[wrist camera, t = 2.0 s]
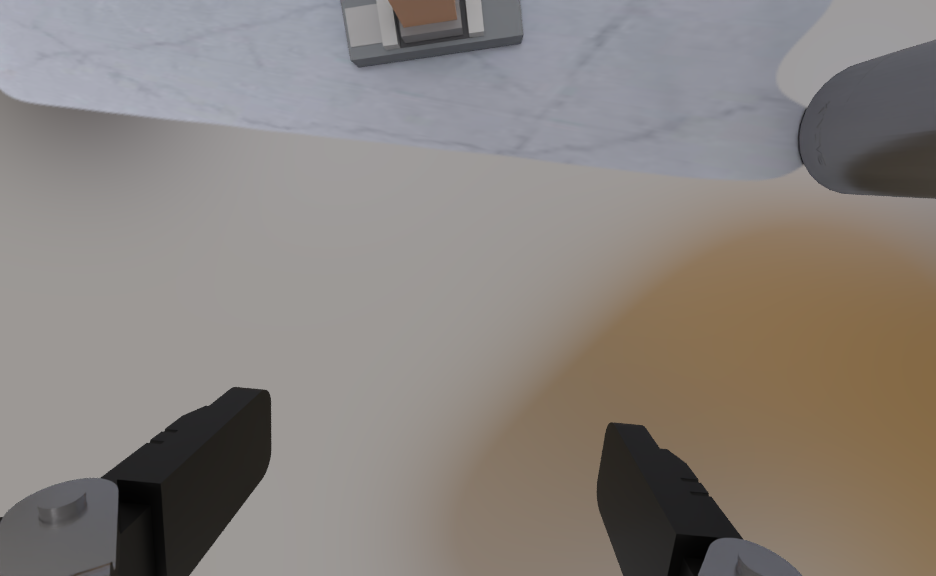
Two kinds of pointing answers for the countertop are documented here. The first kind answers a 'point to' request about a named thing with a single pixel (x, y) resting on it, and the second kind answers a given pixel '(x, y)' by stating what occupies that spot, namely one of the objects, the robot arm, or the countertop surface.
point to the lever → (428, 19)
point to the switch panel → (379, 40)
